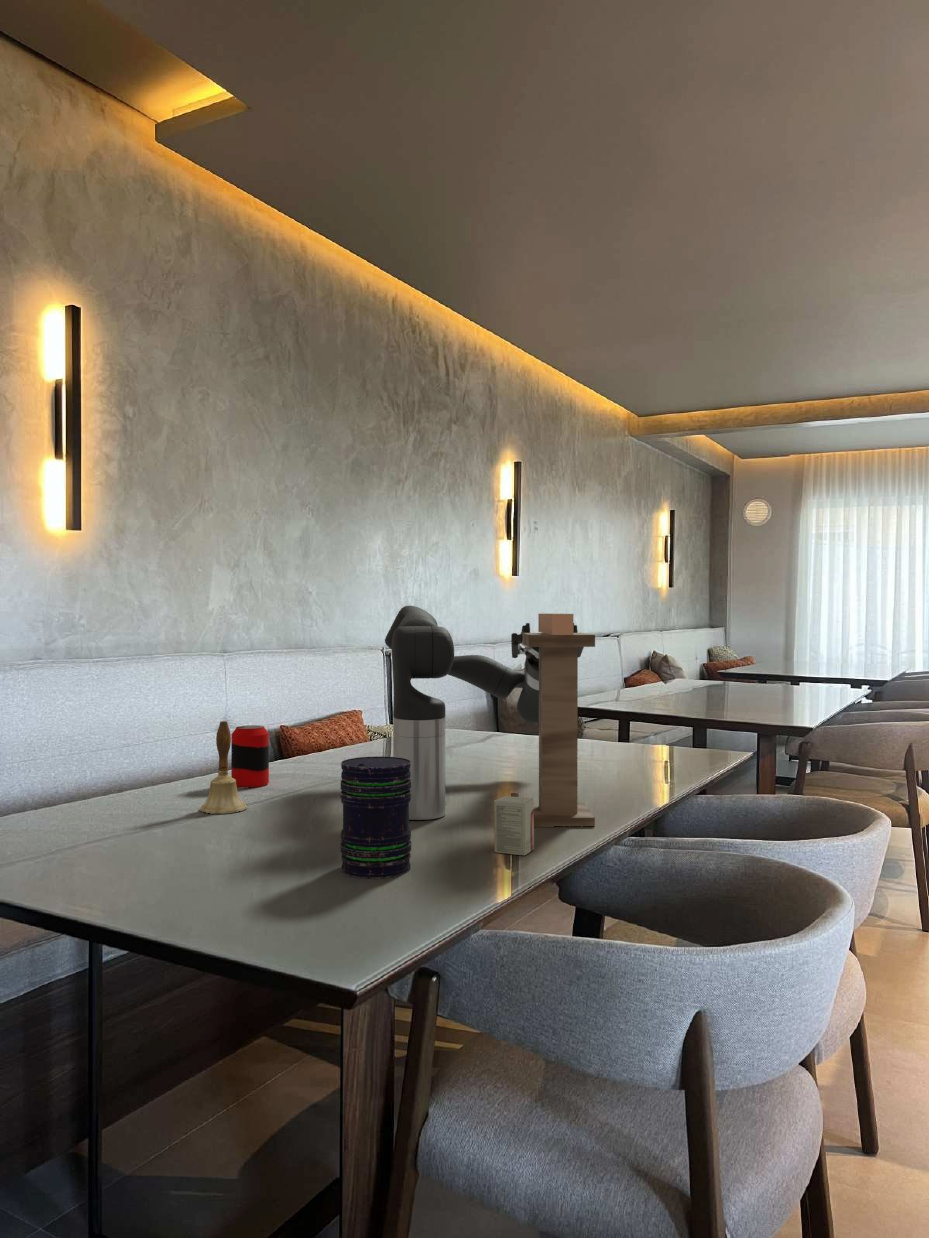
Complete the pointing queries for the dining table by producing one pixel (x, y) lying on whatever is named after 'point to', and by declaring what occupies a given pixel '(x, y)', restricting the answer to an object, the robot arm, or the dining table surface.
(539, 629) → the block
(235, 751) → the soda can
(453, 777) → the dining table surface
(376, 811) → the storage jar
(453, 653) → the robot arm
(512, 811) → the small box
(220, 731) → the hand bell
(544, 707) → the wooden pedestal stand
